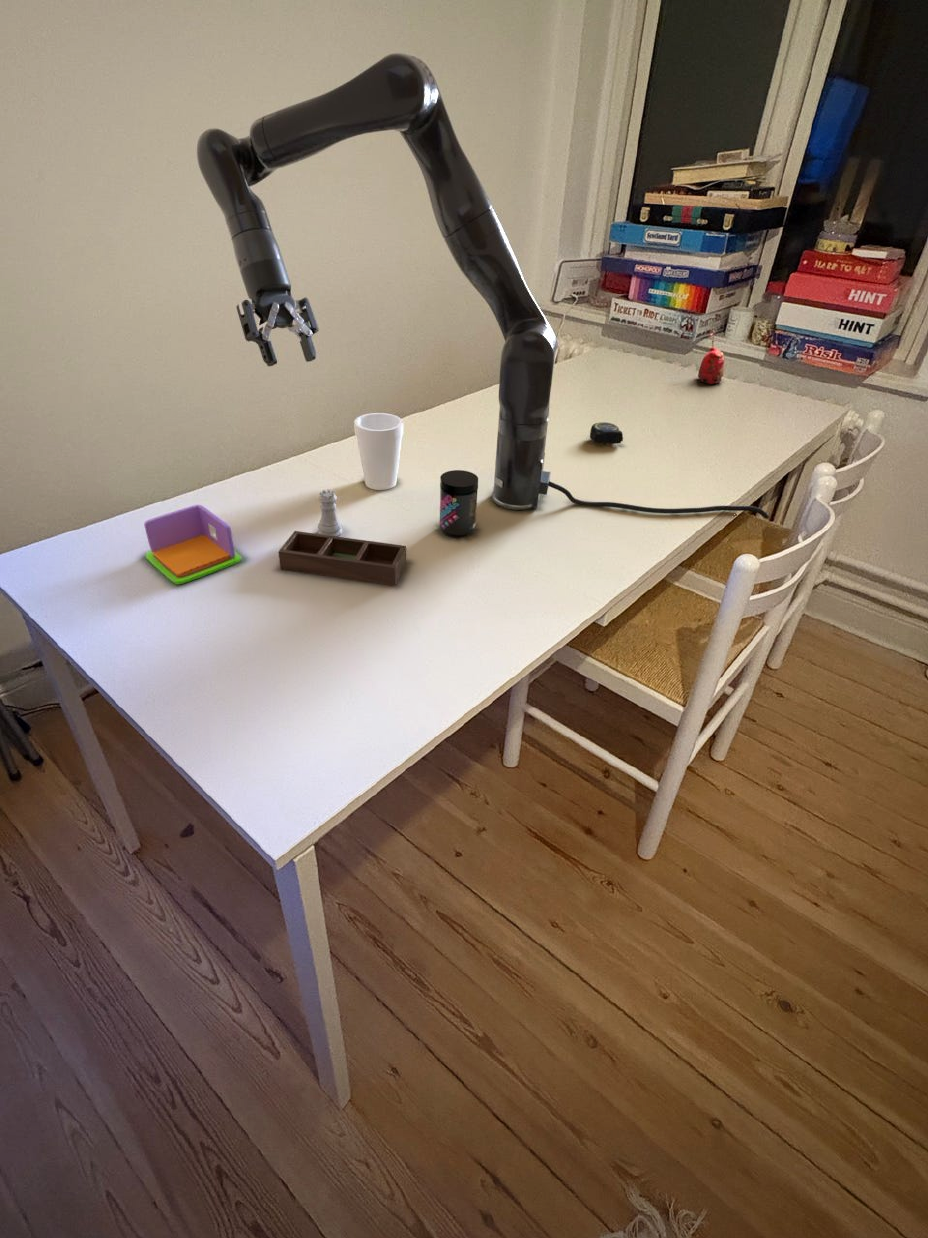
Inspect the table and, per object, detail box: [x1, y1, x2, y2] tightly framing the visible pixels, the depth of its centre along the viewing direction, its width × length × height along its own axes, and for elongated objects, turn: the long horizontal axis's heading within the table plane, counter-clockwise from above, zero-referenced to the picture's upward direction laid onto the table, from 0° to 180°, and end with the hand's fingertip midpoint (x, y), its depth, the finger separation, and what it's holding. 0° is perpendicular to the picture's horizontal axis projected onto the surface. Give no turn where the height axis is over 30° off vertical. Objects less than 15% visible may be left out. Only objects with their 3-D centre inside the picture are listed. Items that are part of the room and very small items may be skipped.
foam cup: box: [353, 412, 404, 491], centre depth 138 cm, size 10×9×13 cm
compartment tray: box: [277, 530, 407, 587], centre depth 115 cm, size 7×20×4 cm, turn 79°
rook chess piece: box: [317, 489, 344, 537], centre depth 123 cm, size 4×4×8 cm
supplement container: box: [438, 469, 479, 539], centre depth 125 cm, size 7×7×10 cm
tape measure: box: [589, 421, 624, 446], centre depth 164 cm, size 7×7×4 cm
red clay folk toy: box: [697, 326, 725, 385], centre depth 201 cm, size 8×7×15 cm
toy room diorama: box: [144, 504, 242, 586], centre depth 114 cm, size 12×12×7 cm
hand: (292, 362), depth 121 cm, fingers open, 8 cm apart
